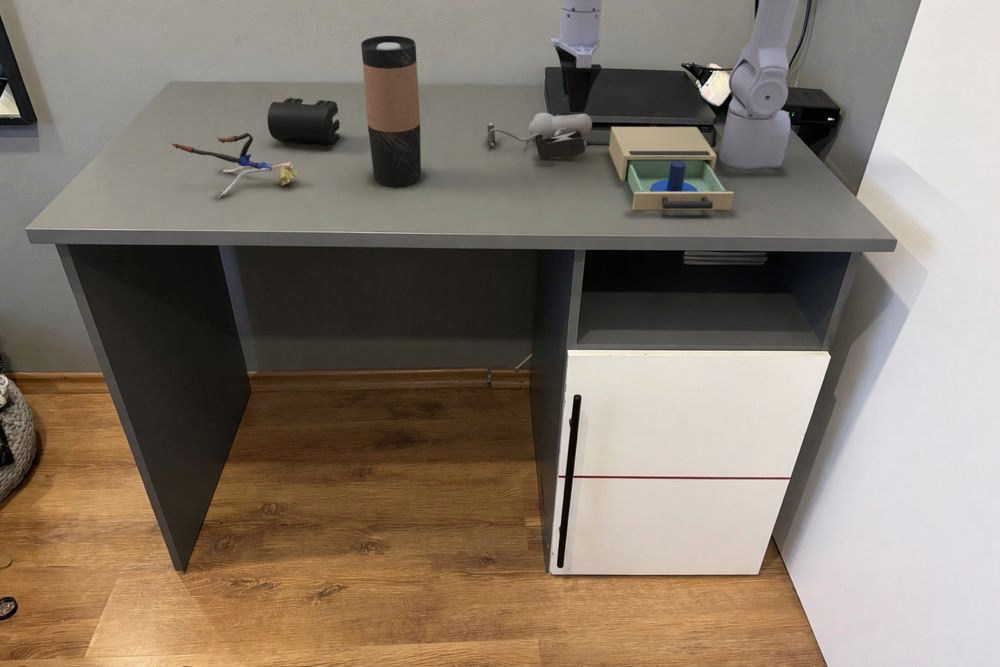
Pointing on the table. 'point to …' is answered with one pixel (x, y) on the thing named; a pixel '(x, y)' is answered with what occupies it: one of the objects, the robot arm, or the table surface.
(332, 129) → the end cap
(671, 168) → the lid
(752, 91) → the robot arm
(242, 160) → the spliced wire bundle
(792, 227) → the table surface
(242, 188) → the table surface
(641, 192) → the wooden drawer
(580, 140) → the clip-on lamp
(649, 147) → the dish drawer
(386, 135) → the travel mug
